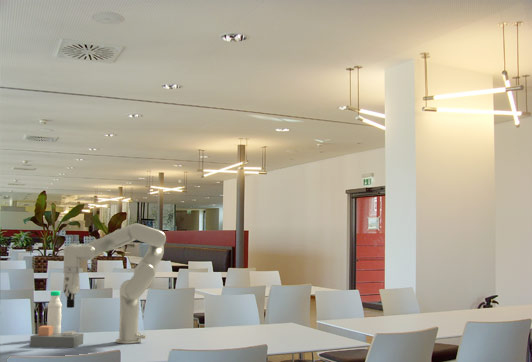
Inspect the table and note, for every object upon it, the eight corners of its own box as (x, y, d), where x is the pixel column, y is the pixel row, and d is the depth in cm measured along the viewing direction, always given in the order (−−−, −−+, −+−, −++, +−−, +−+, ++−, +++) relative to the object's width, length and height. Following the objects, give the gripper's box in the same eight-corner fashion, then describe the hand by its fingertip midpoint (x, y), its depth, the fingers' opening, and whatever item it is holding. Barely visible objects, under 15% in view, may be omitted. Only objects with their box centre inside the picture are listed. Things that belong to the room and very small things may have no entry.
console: (83, 343, 309) (83, 333, 309) (73, 347, 297) (73, 337, 297) (41, 342, 311) (41, 332, 311) (30, 346, 299) (30, 336, 299)
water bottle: (56, 340, 316) (57, 291, 318) (43, 340, 318) (45, 291, 320) (63, 338, 323) (64, 290, 325) (51, 338, 324) (52, 290, 327)
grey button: (75, 341, 306) (76, 331, 306) (71, 343, 300) (72, 333, 301) (65, 341, 306) (66, 331, 306) (61, 343, 301) (61, 332, 301)
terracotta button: (52, 335, 307) (53, 325, 307) (48, 337, 302) (48, 327, 302) (43, 335, 307) (43, 325, 308) (38, 337, 302) (38, 327, 303)
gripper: (72, 271, 299) (71, 309, 297) (84, 269, 314) (83, 305, 312) (57, 271, 299) (56, 309, 298) (70, 269, 314) (69, 305, 313)
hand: (70, 307), depth 305 cm, fingers closed
